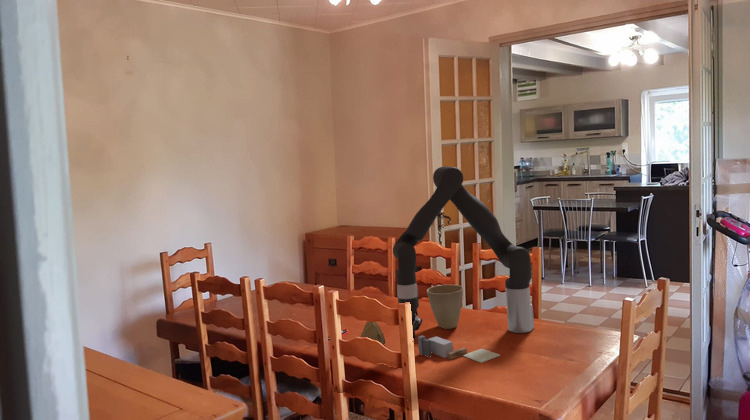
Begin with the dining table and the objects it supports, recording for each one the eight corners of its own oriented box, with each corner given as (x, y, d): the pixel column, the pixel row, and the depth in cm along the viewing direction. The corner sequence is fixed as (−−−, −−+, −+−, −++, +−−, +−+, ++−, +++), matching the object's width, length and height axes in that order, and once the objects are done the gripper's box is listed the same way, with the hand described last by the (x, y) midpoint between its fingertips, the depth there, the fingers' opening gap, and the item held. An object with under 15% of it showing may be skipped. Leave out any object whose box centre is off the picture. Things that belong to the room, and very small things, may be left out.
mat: (481, 349, 205) (481, 348, 205) (500, 355, 197) (499, 354, 197) (463, 356, 200) (463, 355, 200) (481, 362, 192) (481, 361, 192)
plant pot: (440, 319, 245) (437, 283, 244) (472, 323, 237) (469, 285, 235) (423, 329, 233) (420, 292, 232) (455, 333, 225) (452, 294, 223)
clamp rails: (440, 344, 214) (440, 339, 214) (467, 353, 202) (466, 348, 202) (425, 349, 210) (424, 344, 210) (451, 359, 198) (450, 354, 198)
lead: (437, 349, 210) (436, 336, 209) (453, 355, 202) (452, 341, 202) (428, 352, 208) (427, 339, 207) (444, 358, 200) (443, 344, 200)
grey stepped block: (423, 352, 207) (421, 335, 206) (432, 356, 203) (430, 338, 202) (419, 354, 206) (417, 336, 205) (428, 357, 202) (426, 339, 201)
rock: (393, 339, 218) (383, 329, 227) (380, 325, 215) (370, 315, 224) (373, 359, 217) (363, 348, 226) (359, 346, 213) (350, 335, 222)
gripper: (426, 296, 205) (430, 342, 207) (405, 290, 216) (409, 334, 218) (410, 300, 201) (414, 347, 203) (389, 294, 212) (393, 339, 214)
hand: (411, 340), depth 211 cm, fingers closed
